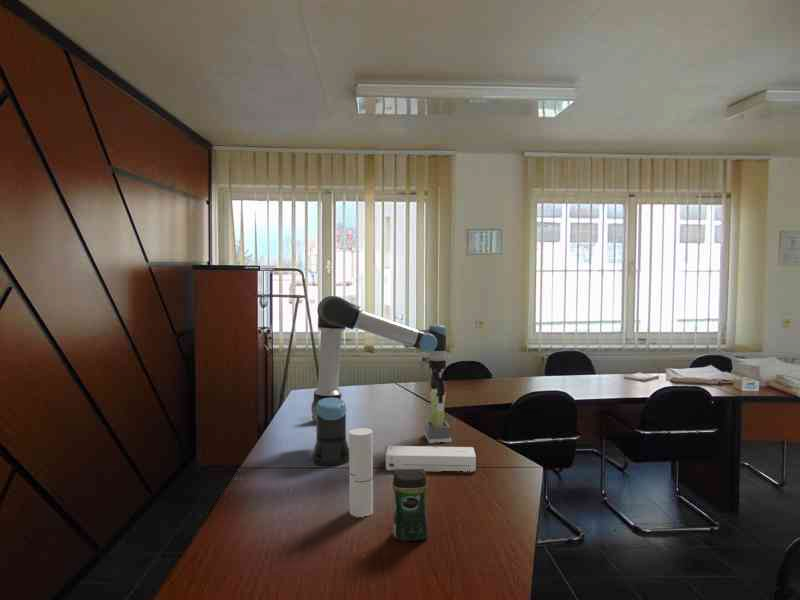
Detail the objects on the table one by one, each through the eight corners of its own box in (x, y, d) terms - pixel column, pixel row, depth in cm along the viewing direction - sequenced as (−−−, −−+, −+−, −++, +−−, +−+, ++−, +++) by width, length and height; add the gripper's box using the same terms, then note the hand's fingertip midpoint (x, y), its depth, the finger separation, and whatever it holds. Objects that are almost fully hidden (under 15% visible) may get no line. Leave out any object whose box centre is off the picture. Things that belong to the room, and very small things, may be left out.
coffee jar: (426, 528, 145) (426, 464, 144) (428, 542, 137) (428, 475, 136) (393, 528, 145) (392, 464, 144) (392, 542, 137) (392, 475, 136)
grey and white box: (451, 442, 223) (451, 427, 223) (428, 443, 222) (428, 428, 221) (445, 434, 235) (445, 420, 234) (424, 434, 234) (424, 420, 233)
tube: (437, 432, 232) (437, 390, 231) (445, 434, 229) (446, 391, 228) (429, 435, 228) (429, 392, 227) (438, 437, 224) (438, 393, 224)
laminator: (473, 462, 199) (473, 446, 199) (476, 474, 187) (476, 457, 186) (387, 460, 201) (387, 445, 201) (384, 472, 189) (384, 456, 188)
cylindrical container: (360, 504, 160) (360, 426, 160) (377, 511, 156) (377, 431, 155) (344, 512, 155) (344, 432, 154) (361, 519, 150) (361, 436, 149)
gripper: (451, 363, 215) (451, 413, 216) (440, 355, 240) (439, 400, 240) (434, 364, 214) (433, 413, 215) (424, 355, 239) (424, 400, 240)
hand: (437, 406), depth 228 cm, fingers open, 13 cm apart
